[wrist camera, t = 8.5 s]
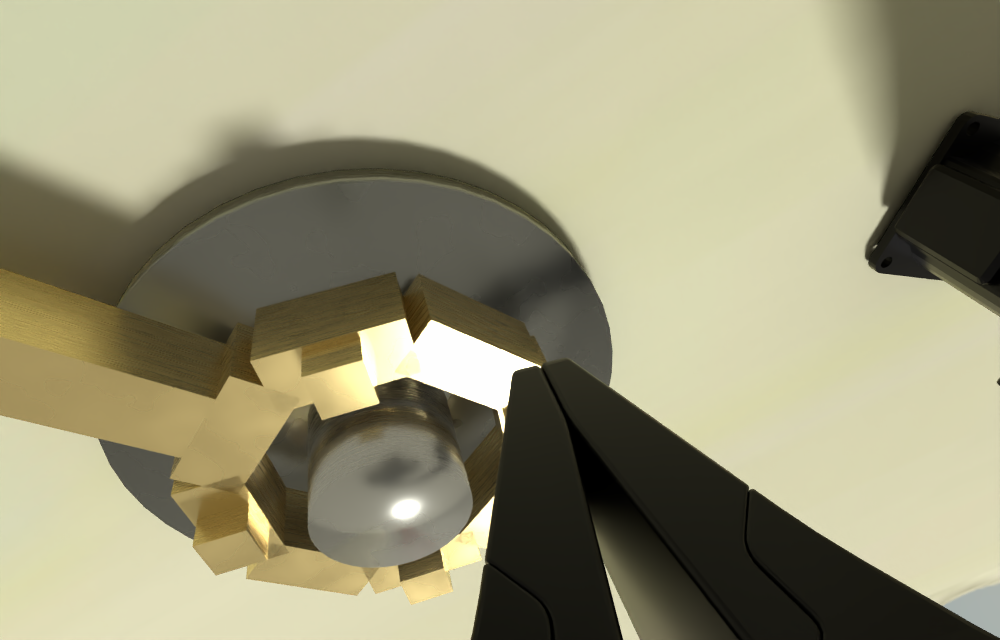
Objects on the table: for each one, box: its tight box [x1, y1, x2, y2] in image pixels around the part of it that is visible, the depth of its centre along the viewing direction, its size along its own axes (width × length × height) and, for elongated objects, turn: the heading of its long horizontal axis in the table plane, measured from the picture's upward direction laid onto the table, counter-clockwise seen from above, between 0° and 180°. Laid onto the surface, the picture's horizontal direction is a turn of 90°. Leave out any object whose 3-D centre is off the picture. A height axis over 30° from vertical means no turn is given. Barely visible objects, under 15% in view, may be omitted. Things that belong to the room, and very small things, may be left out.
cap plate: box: [98, 169, 612, 568], centre depth 21 cm, size 18×18×6 cm
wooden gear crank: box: [0, 268, 547, 605], centre depth 19 cm, size 20×12×4 cm, turn 54°
